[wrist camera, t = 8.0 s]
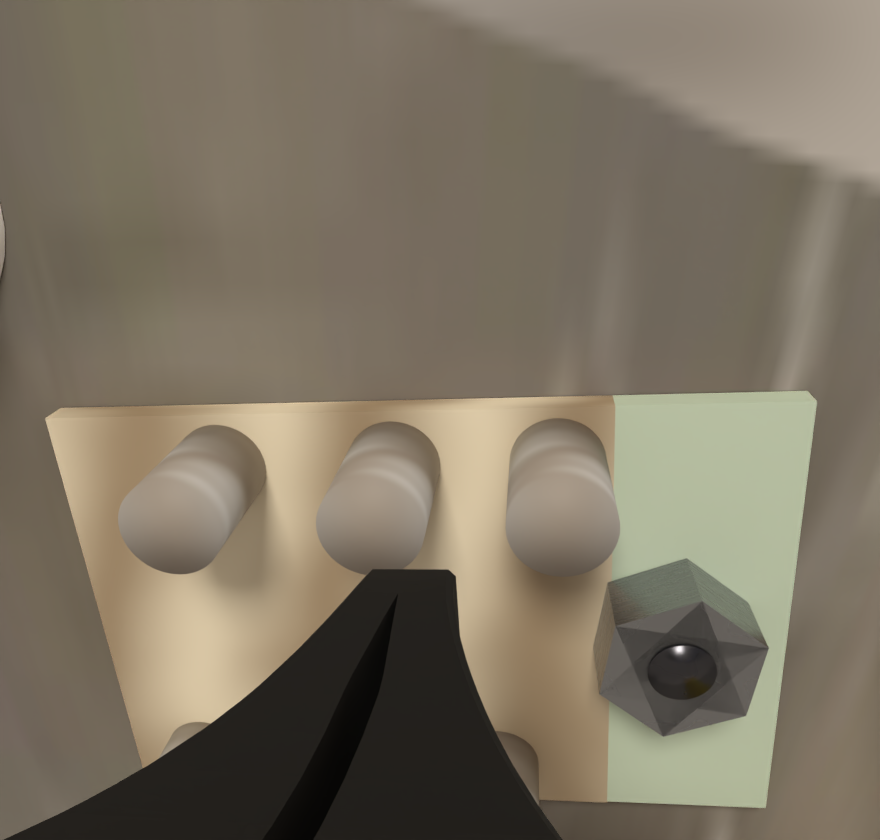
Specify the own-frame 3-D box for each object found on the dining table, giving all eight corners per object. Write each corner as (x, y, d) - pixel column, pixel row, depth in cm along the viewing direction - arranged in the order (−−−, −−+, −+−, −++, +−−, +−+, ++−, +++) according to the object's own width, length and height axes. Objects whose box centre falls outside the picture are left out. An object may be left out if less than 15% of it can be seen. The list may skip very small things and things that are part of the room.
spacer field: (612, 395, 21) (631, 464, 17) (604, 782, 26) (617, 904, 22) (61, 408, 23) (-38, 472, 19) (157, 765, 28) (96, 873, 24)
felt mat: (807, 390, 20) (816, 401, 20) (759, 788, 26) (765, 808, 25) (612, 395, 21) (615, 405, 20) (604, 782, 26) (607, 801, 26)
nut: (728, 545, 21) (748, 589, 20) (767, 656, 23) (789, 706, 21) (569, 593, 22) (573, 639, 21) (615, 696, 24) (623, 748, 22)
